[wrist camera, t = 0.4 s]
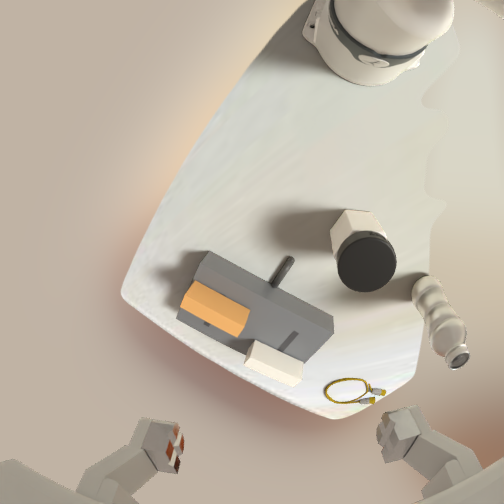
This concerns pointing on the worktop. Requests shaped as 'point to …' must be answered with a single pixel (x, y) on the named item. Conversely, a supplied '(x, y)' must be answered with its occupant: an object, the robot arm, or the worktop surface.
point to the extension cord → (362, 401)
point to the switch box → (261, 311)
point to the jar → (362, 251)
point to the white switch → (274, 364)
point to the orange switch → (215, 308)
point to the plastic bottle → (441, 322)
